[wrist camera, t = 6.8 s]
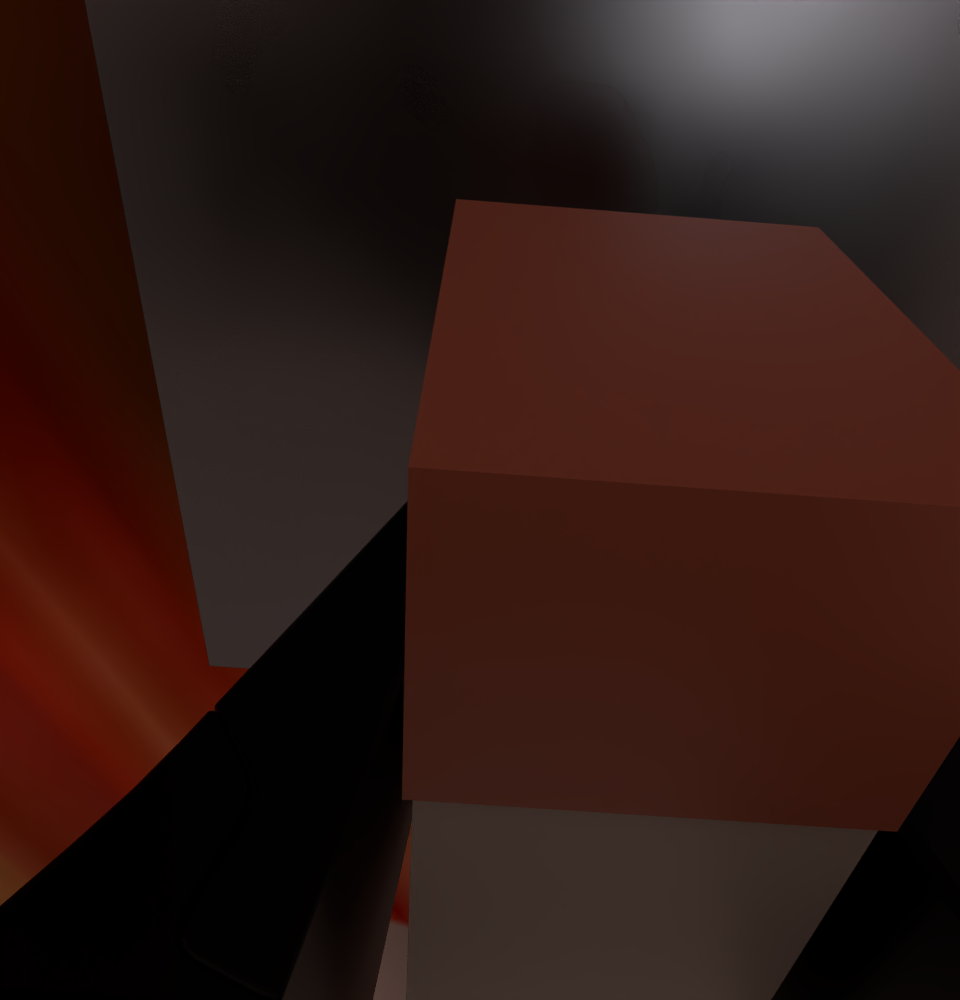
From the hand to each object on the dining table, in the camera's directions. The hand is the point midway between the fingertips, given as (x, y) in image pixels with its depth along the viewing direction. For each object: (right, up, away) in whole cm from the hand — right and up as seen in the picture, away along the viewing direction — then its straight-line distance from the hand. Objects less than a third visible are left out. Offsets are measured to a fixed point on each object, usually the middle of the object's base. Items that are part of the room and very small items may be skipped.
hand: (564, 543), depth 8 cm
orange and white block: (0, +1, +2) cm, 2 cm away
